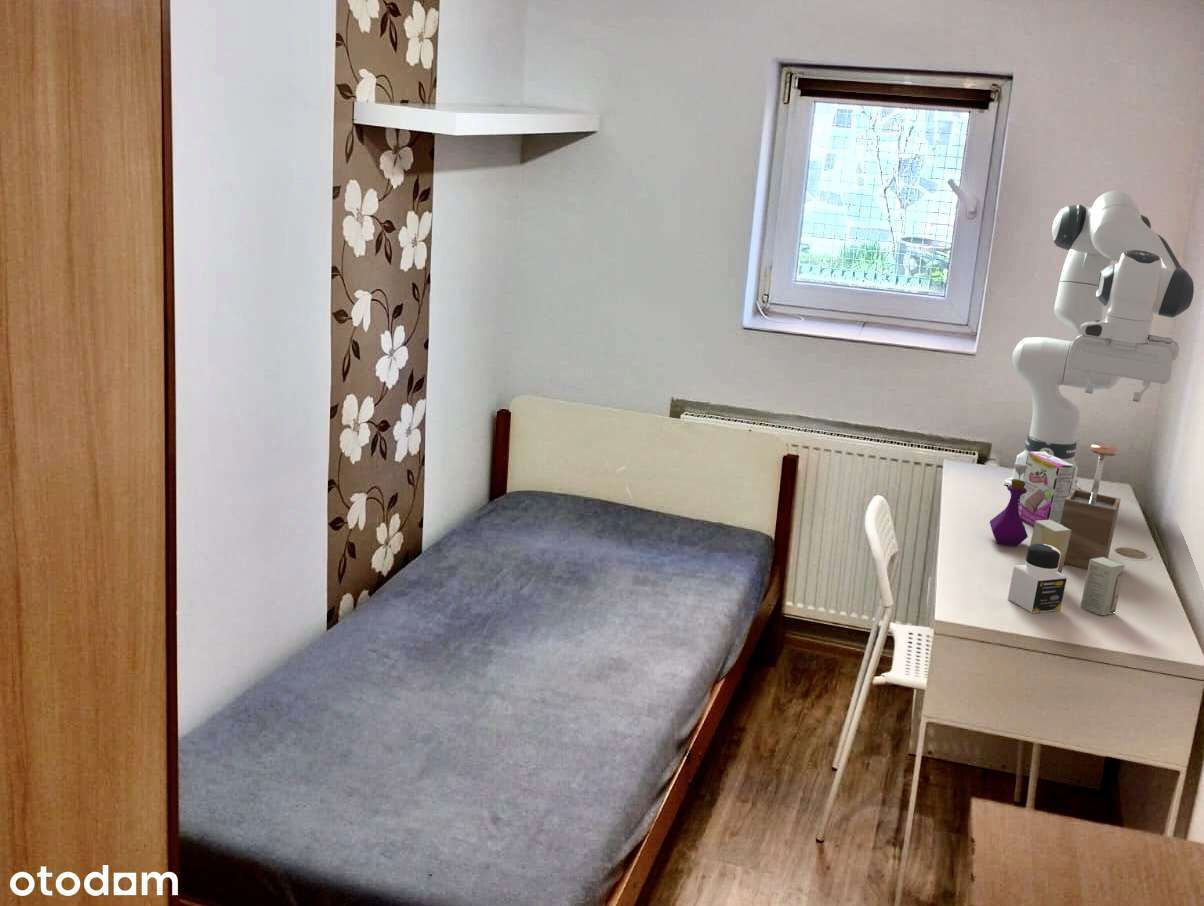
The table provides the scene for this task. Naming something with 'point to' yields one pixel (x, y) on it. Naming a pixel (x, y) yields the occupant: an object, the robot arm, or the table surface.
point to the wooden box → (1088, 528)
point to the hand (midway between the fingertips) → (1112, 397)
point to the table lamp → (1098, 473)
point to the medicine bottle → (1038, 580)
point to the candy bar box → (1045, 487)
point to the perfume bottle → (1011, 515)
